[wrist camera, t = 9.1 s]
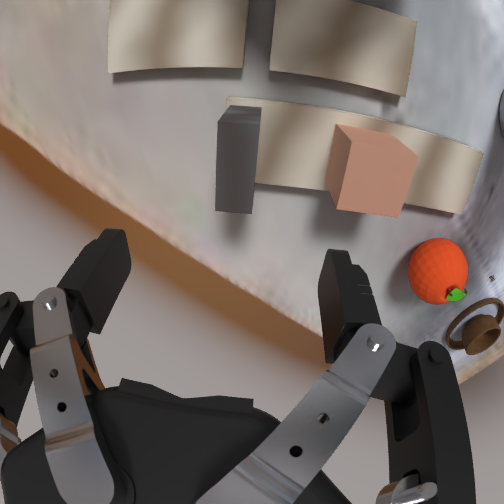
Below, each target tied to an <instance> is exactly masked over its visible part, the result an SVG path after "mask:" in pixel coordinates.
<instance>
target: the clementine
mask: <svg viewBox="0 0 504 504" xmlns="http://www.w3.org/2000/svg"><path fill="white" fill-rule="evenodd" d="M408 277H409V281H410V284H411V287H412V289H413V291H414V292H415V293H416V295H417V296H418V297H419V298H421V299H422V300H423V301H425V302H427V303H431V304H436V305H438V304H444V303H448V302H450V301H460V300H461V299H463V298H464V297H465V296H466V294H467V291H466V289H465V293H464V292H461V291H462V290H463V289H464V287H465V285H466V281H467V277H468V264H467V260H466V258H465V255H464V253H463V251H462V250H461V249H460V248H459V247H458V246H457V245H456V244H455V243H454V242H452V241H450V240H447V239H444V238H434V239H430V240H427V241H425V242H423V243H422V244H421V245H419V246H418V248H417V249H416V250H415V251H414V253H413V255H412V257H411V259H410V262H409V269H408Z"/></svg>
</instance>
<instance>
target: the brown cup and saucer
mask: <svg viewBox="0 0 504 504" xmlns="http://www.w3.org/2000/svg"><path fill="white" fill-rule="evenodd" d="M493 276H494V275H493ZM490 277H491V278H492V279H494V278H493V277H492V276H490ZM490 277H489V278H490ZM491 278H490V279H491ZM492 279H491V280H492ZM494 280H495V279H494ZM492 281H493V280H492ZM491 303H498V305H499V309H498V313H497V315H496V317H495V318H494V317H493V316H491V315H483V314H479V315H477V316H475V317H473V318H472V319H470V320H469V321H468V323H467V324H466V326H465V329H464V331H463V333H462V341H459V342H457V341H453V340H451V339H450V334H451V333H452V331H453V330H454V328H455V327H456V326H457V325H458V324H459V322H461V321H462V320H463V319H464V318H465V317H466V316H467V315H469V314H470V313H472V312H473V311H475V310H476V309H478V308H480V307H482V306H484V305H487V304H491ZM503 317H504V304H503V302H502V301H501V300H499V299H497V298H487V299H483V300H481V301H478V302H476V303H475V304H473V305H471V306H470V307H468V308H467V309H466V310H464V311H463V312H462V313H461V314H460V315H459V316H458V317H457V318H456V319H455V320H454V321H453V322H452V324H451V325H450V327H449V329H448V331H447V335H446V341H447V345H448V346H449V347H450V348H451V349H456V350H458V349H464V348H465V351H466V353H467V354H468V355H475V354H478V353H481V352H483V351H484V350H486V349H488V348H489V347H490V346H492V345H493V344H494V343H495V342H496V341H497V339H498V338H499V336H500V334H501V329H500V327H499V324H500V323H501V321H502V319H503Z"/></svg>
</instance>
